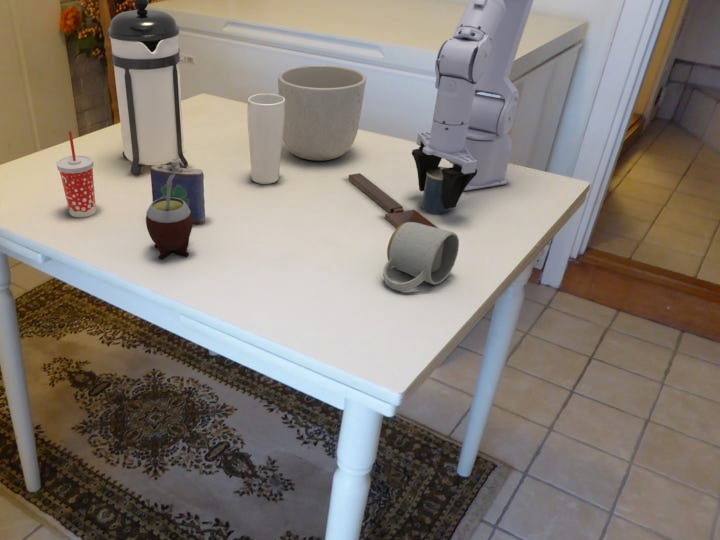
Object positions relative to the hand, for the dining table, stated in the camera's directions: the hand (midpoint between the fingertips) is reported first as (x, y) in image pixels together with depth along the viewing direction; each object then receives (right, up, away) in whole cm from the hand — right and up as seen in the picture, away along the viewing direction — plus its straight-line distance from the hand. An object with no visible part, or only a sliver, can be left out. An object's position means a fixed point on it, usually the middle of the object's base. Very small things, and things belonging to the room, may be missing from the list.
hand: (437, 198), depth 118 cm
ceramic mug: (-9, -16, -18) cm, 25 cm away
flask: (-45, -4, -2) cm, 45 cm away
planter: (-18, +14, +22) cm, 32 cm away
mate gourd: (-45, -11, -11) cm, 48 cm away
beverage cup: (-62, -2, +1) cm, 62 cm away
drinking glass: (-29, +6, +12) cm, 32 cm away
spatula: (-8, -1, +2) cm, 9 cm away
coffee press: (-52, +12, +20) cm, 57 cm away
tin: (0, -1, +1) cm, 2 cm away
